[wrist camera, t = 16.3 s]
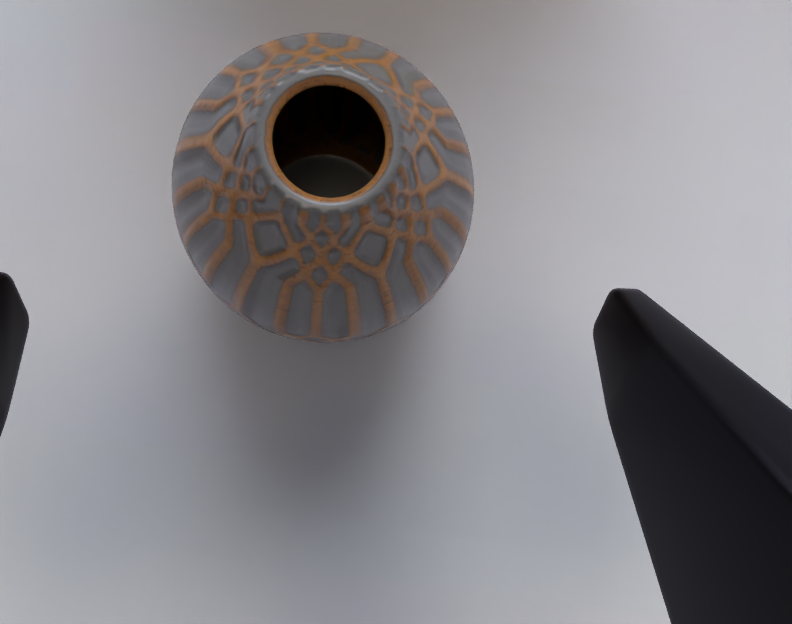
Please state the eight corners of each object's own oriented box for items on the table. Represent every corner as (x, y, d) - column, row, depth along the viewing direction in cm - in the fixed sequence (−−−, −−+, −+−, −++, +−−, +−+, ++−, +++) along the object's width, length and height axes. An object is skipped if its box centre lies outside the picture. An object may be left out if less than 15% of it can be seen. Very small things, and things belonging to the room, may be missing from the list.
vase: (275, 376, 18) (232, 438, 9) (163, 165, 18) (12, 27, 9) (478, 270, 19) (612, 238, 10) (375, 65, 18) (423, -152, 10)
